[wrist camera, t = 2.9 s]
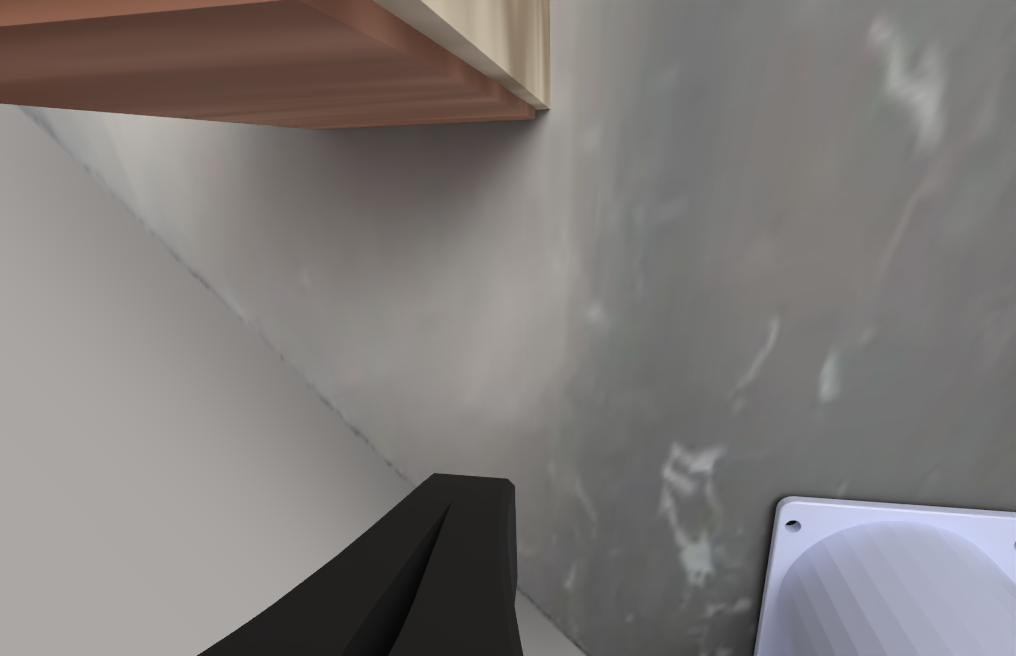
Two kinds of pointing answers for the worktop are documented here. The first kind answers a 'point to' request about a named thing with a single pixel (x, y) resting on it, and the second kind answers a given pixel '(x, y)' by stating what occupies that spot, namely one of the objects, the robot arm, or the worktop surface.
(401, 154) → the worktop surface
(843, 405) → the worktop surface
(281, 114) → the marked block
